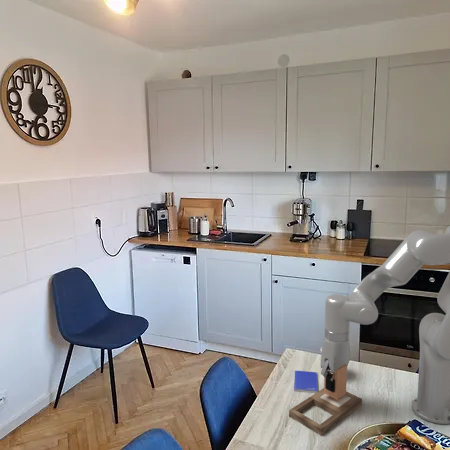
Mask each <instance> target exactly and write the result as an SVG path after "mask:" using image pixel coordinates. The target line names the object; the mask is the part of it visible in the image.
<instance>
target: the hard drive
mask: <svg viewBox="0 0 450 450" xmlns="http://www.w3.org/2000/svg"><path fill="white" fill-rule="evenodd" d="M293 380H294V383H293V385H294V386H293V392H296V393H297V392H298V393H308V394H309V393H310V394H315V393H317V392H318V391H319V385H318V384H319V383H318V380H319V379H318V372H314V371H306V370H295V371H294V379H293Z"/></svg>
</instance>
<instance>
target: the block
mask: <svg viewBox="0 0 450 450" xmlns="http://www.w3.org/2000/svg"><path fill="white" fill-rule="evenodd" d="M329 369H330V368H329ZM329 374H330V375H331V374H332V373H331V372H329ZM323 377H324V376H323ZM347 379H348V366H347V365H345V366H343V367H341V368H340V369H338V370H337V371H336V372H335V376H334V380H335V392H331V391H329V390H327V389H326V388H325V383H326V378H325V377H324V378H323V381H324V382H323V388H324V393H325V394H327V395H329V396H331V397H333V398H335V399H336V400H338V399H339V398H341V397H342V396H343V395H345V394H346V391H347Z"/></svg>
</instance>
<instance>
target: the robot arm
mask: <svg viewBox="0 0 450 450" xmlns="http://www.w3.org/2000/svg"><path fill="white" fill-rule="evenodd" d="M448 264H449V265H450V225H449V226H448V227H447V228H446V229H445V232H444V233H443V234H433V233H431V232H429V231H426V230H424V229H423V230H422V229H417V230H414V231H412V232H411V233H409V234H408V235H407V236H406V237H405V238H404V240H403V241H402V242H401V243H400V244H399V245H398V246H397V248H395V250H394V251H393V252H392V253H391V254H390V255H389V256H388V258H387V259H386V260H385V261H384V262H383V264H381V265H380V266H378V267H377V268H375V269H374V270H373V271H372V272H369V273H368V275H366V276H365V277H364V278H363V279H362V280H361V281H360V282H359V283H358V285H357V286H356V287H355V288H354V289H353V290H352V291H351V293H350V295H349V297H348V296H346V295H343V294H331V295H328V296H327V297H326V299H325V308H324V309H325V310H324V313H325V314H324V315H325V317H324V339H323V341H322V346H321V347H322V352H321V351H320V368H321V372H320V375H322V376H323V377H325V378H326V383H325V388H326V389H327V390H329V391H331V392H335V380H334V376H335V372H336V371H337V370H338V369H340V368H341V367H343V366H345V365H347V367H348V366H349V363H350V361H351V349H350V348H351V347H350V346H351V345H350V329H351V327H350V325H351V323H355V324H359V325H365V326H366V325H367V326H368V325H372V324H374V323H375V322H376V321H377V319H378V317H379V310H378V308H377V306H376V303H375V301H376V300H377V299H378V298H379V297H380V296H381V295H382V294H383V293H384V292H385V291H387V290H388V289H390V288H393V287H401V286H404V285H406V284H407V283H408V282H409V281H411V279H412V278H413V277H414V275H415V274H416V273H417V272H418V271H419V270H420V269H421V268H422V266H424V265H426V266H442V265H443V266H444V265H448ZM436 299H437V304H438V306H439V307H440V309H441V310H442V311H443V312H444V313H445V314H443V313H441V312H440V313H439V312H431V313H428V314H426V315H425V316H424V317H423V318H422V319H421V321H420V323H419V327H418V334H419V365H418V379H417V380H418V382H417V396H416V397H415V398H413V399H412V401H411V404H410V405H411V410H412V411H413V413H414V414H415V415H416V416H418V417H419V418H421V419H423V420H425V421H427V422H430V423H433V424H438V425H449V424H450V270H449V271H448V274H447V276H446V278H445V280H444V282H443V284H442V287H440V290H439V291H438V294H437V298H436ZM329 368H330V369H329ZM329 372H331V373H332V374H331V375H330V374H329Z"/></svg>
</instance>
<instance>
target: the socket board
mask: <svg viewBox="0 0 450 450" xmlns="http://www.w3.org/2000/svg"><path fill="white" fill-rule="evenodd" d="M362 405H363V398H361V397H359V396H358V395H357V396H356V395H355V394H352V393H351V392H348V391H347V390H346V394H345V395H343V396H342V397H341V398H339V399H338V400H336V399H335V398H333V397H331V396H329V395H327V394H325V393H324V387H323V388H321V390H318V392H317V393H313V394H312V395H310V396H309V397H308V398H306V399H304V400H303V401H301V402H300V403H298V404H297V405H295V406H294V407H292V408H290V409H289V410H288V416H289V417H290V418H292V419H293V420H295V421H297V422H298V423H300V424H301V425H303V426H305V428H308V429H309V430H311V431H313V432H314V433H316V434H318V435H319V436H323V435H324V434H325V433H326V432H328V431H329V430H331V429H332V428H333V427H335V426H336V425H337V424H338V423H340V422H341V421H342V420H343V419H345V418H346V417H348V415H350V414H351V413H353V412H354V411H355V410H356V409H358V408H360V407H361V406H362ZM312 406H316V407H317V408H319V409H321V410H322V411H325V412H327V413H329V414H331V416H330V417H328V418H327V419H326V420H324V421H323V422H322V423H319V422H317V421H315V420H314V419H311V418H310V417H308V416H306V415H304V414H303V413H304V411H306V410H308V409H309V408H311V407H312Z"/></svg>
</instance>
